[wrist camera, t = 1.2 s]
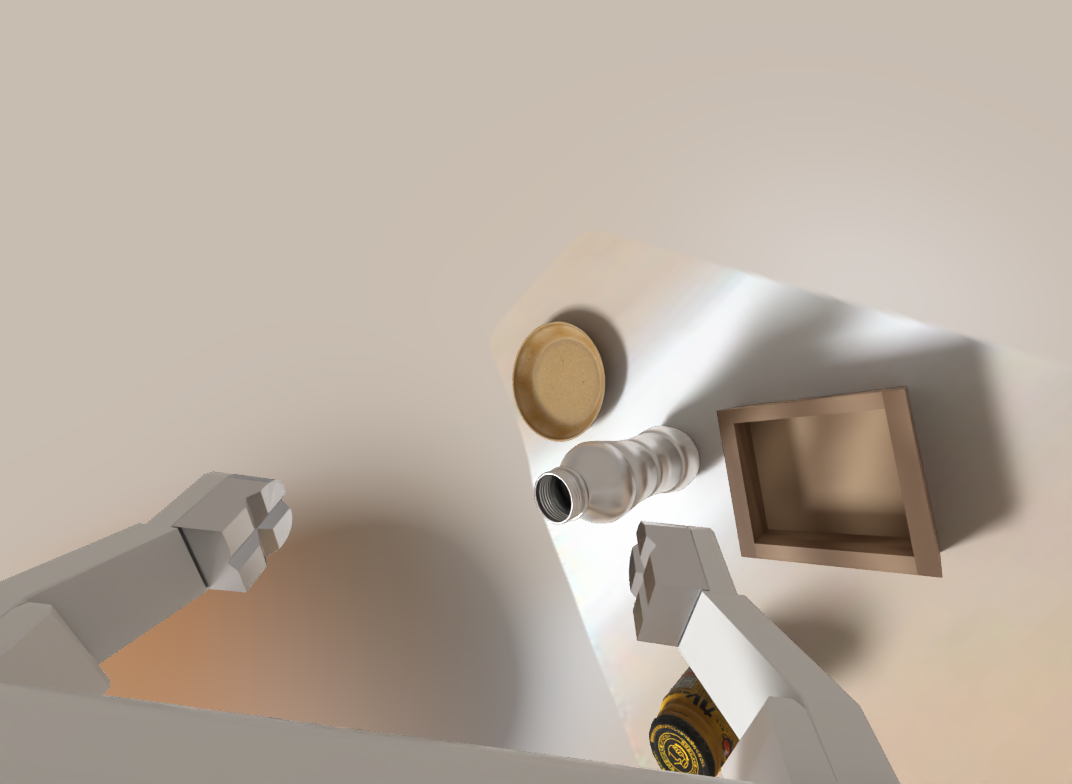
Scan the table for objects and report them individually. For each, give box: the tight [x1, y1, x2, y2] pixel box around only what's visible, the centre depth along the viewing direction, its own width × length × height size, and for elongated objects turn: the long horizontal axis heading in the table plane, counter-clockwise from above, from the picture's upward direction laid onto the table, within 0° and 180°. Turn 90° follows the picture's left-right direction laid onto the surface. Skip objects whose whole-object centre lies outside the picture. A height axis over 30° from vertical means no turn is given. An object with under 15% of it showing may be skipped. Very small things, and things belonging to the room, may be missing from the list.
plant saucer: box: [512, 321, 605, 442], centre depth 53 cm, size 15×15×3 cm
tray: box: [717, 386, 942, 578], centre depth 34 cm, size 12×12×5 cm
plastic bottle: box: [534, 426, 700, 524], centre depth 37 cm, size 6×7×20 cm
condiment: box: [649, 666, 739, 777], centre depth 38 cm, size 7×8×12 cm
